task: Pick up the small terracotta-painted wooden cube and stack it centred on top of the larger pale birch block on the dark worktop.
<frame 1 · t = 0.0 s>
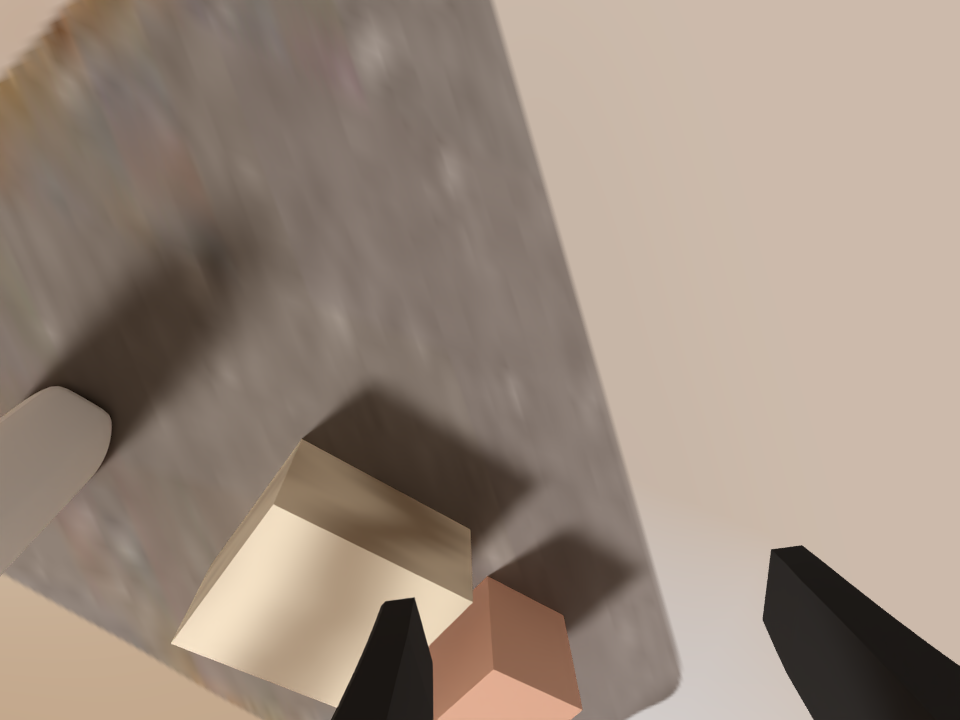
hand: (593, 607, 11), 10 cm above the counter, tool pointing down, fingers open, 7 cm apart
birch block: (340, 542, 24), on the counter
terracotta cube: (496, 622, 26), on the counter
eye dropper bottle: (60, 439, 21), on the counter
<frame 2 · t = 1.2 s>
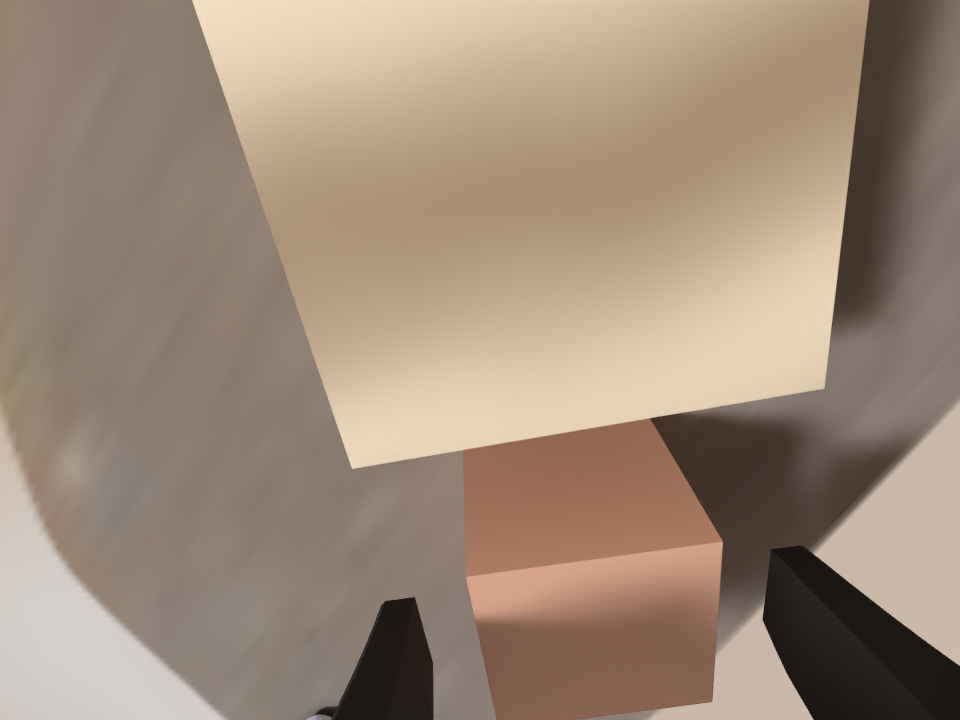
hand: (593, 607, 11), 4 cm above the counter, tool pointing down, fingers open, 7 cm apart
birch block: (524, 155, 11), on the counter
terracotta cube: (559, 492, 15), on the counter
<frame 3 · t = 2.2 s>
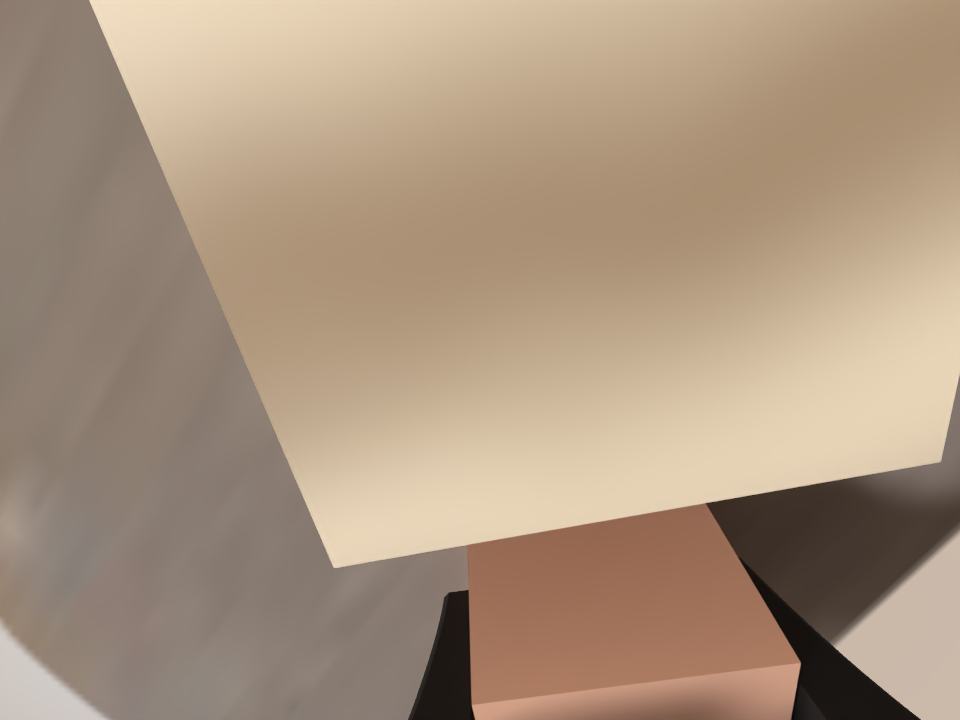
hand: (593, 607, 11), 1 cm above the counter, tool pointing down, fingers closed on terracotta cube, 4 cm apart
birch block: (542, 164, 9), on the counter
terracotta cube: (579, 554, 13), on the counter, touching gripper
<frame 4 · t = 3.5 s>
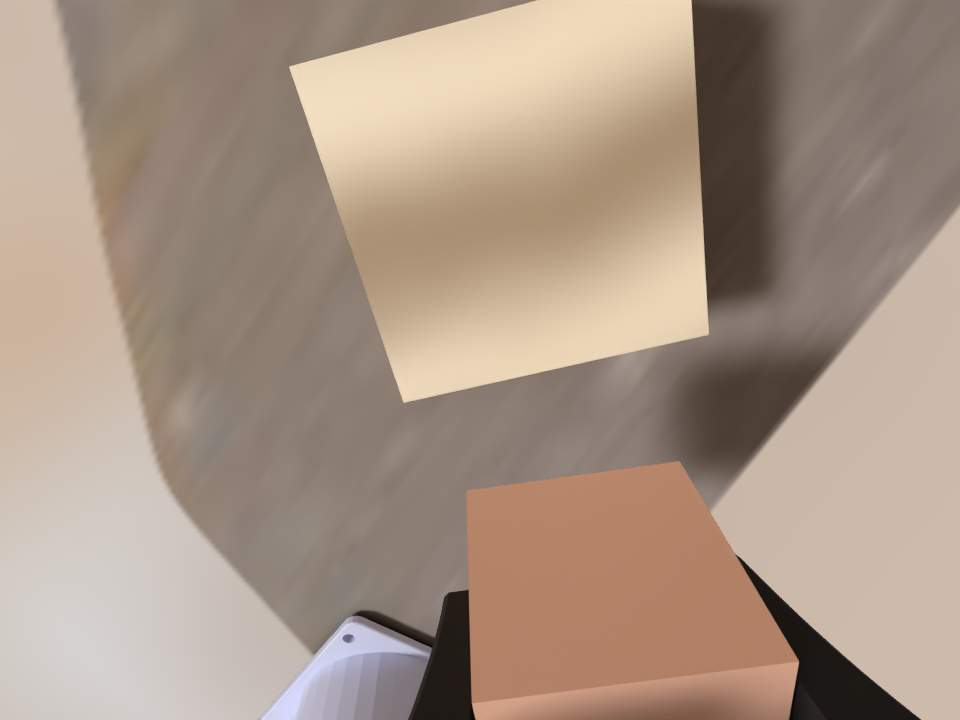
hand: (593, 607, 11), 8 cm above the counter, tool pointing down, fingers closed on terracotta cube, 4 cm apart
birch block: (508, 187, 16), on the counter
terracotta cube: (578, 554, 13), point 7 cm above the counter, touching gripper
when the fingers open (6 cm above the counter, at t = 4.8 s): terracotta cube drops 1 cm, point 4 cm above the counter.
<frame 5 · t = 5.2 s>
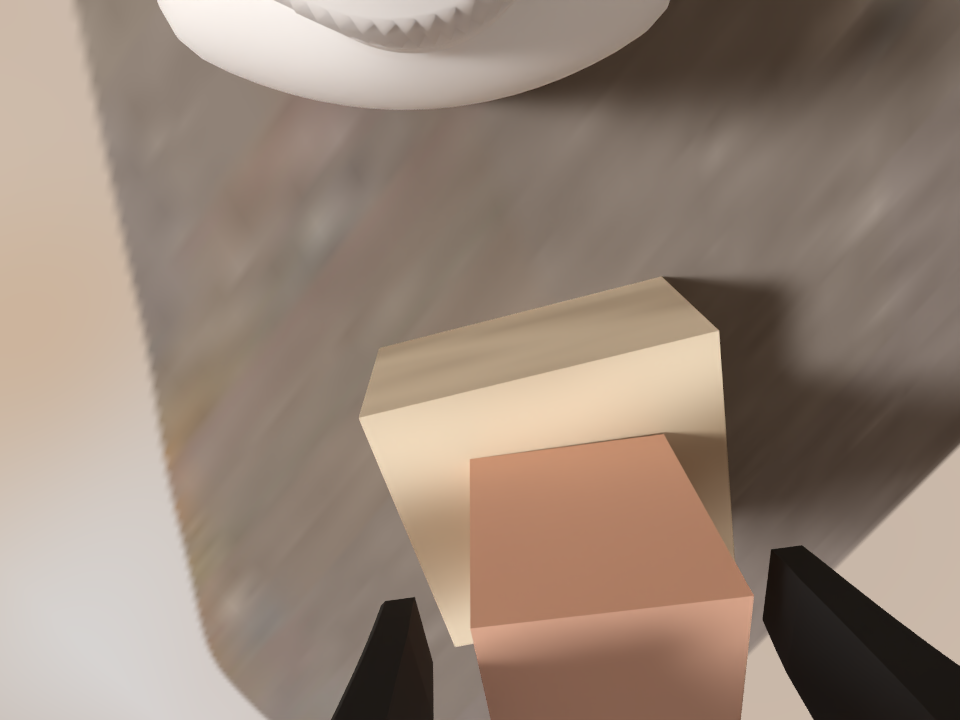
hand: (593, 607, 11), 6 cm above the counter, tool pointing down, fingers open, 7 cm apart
birch block: (544, 424, 17), on the counter
terracotta cube: (572, 520, 14), point 4 cm above the counter
eye dropper bottle: (437, 11, 12), on the counter
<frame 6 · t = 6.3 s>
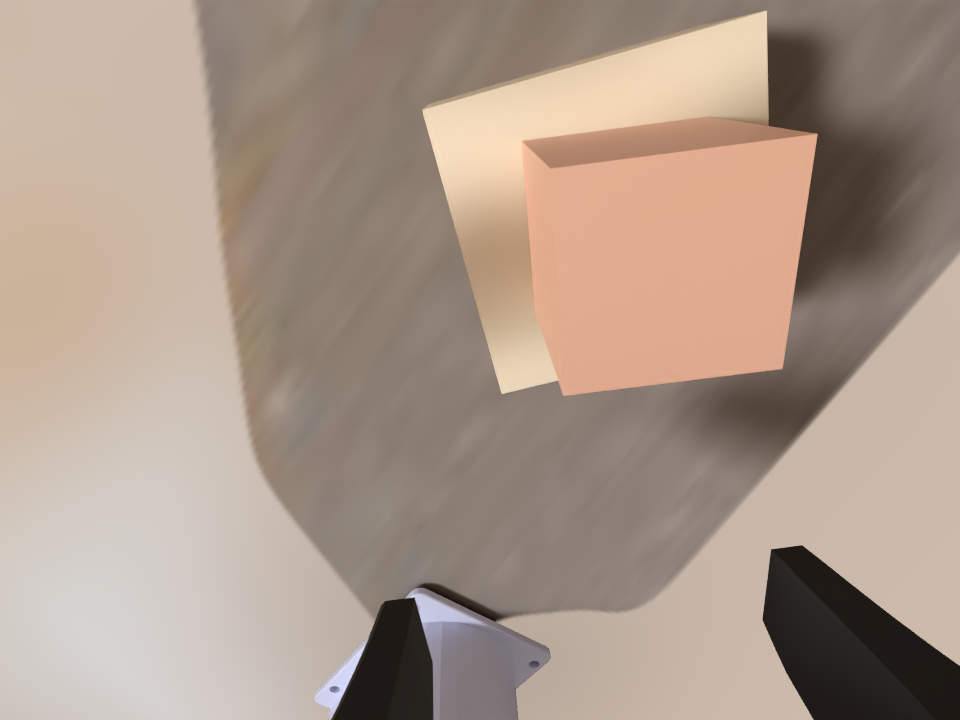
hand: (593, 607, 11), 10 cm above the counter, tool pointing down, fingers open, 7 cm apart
birch block: (583, 200, 18), on the counter, touching terracotta cube
terracotta cube: (615, 221, 14), point 4 cm above the counter, touching birch block
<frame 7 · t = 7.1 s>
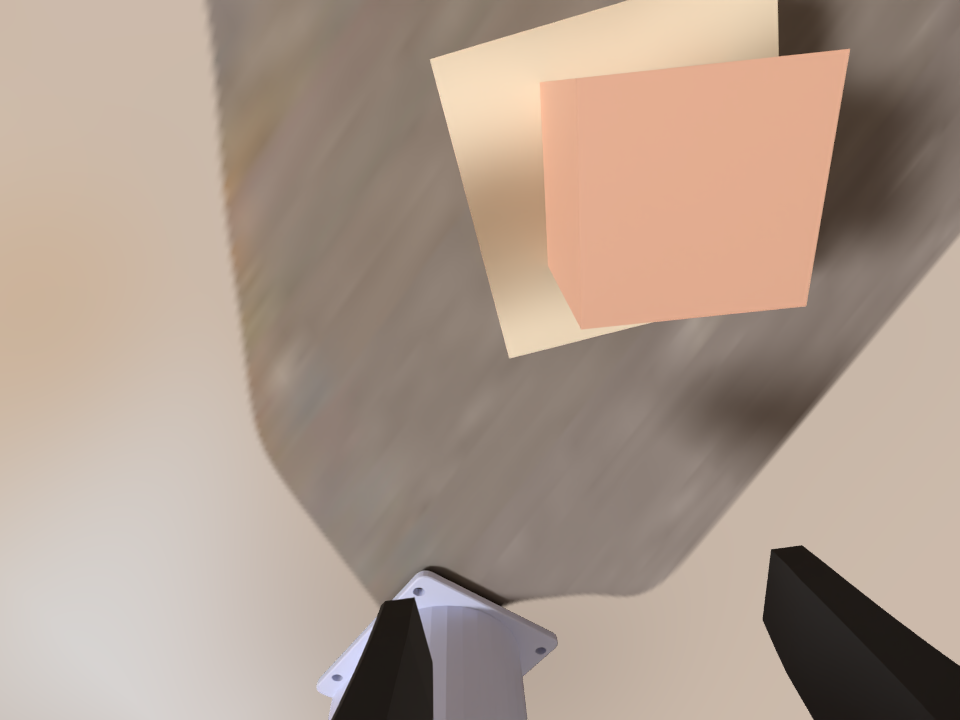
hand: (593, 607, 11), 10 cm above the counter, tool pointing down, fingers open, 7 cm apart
birch block: (590, 166, 18), on the counter
terracotta cube: (632, 171, 14), point 4 cm above the counter
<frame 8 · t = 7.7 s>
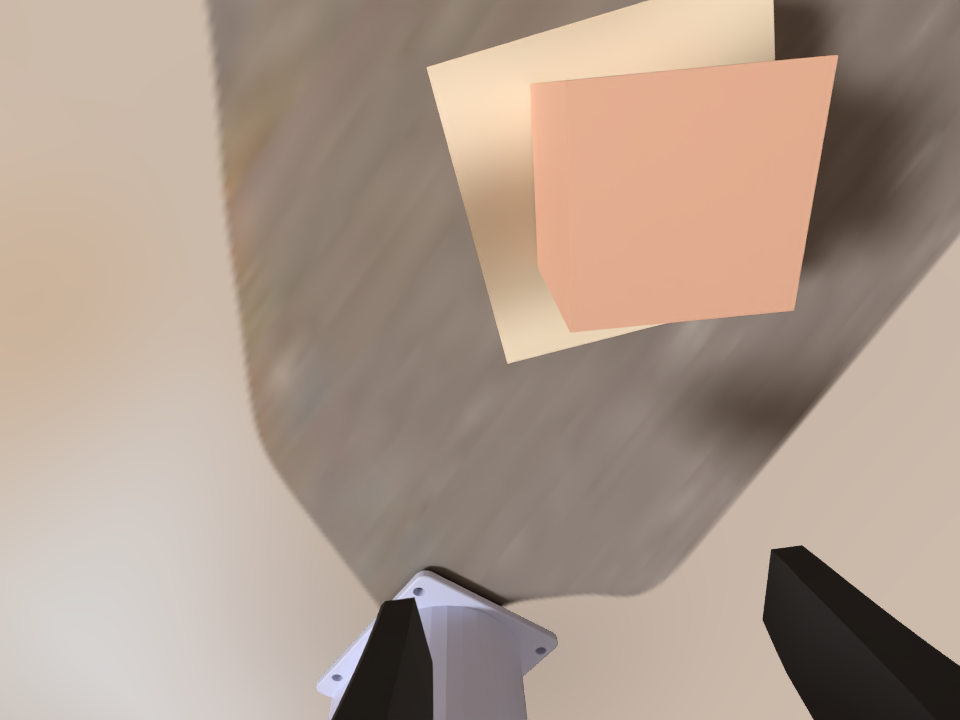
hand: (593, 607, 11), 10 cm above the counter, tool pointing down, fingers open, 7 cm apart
birch block: (588, 171, 18), on the counter, touching terracotta cube
terracotta cube: (622, 173, 14), point 4 cm above the counter, touching birch block
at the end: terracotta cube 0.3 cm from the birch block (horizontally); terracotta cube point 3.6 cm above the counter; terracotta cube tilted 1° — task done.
